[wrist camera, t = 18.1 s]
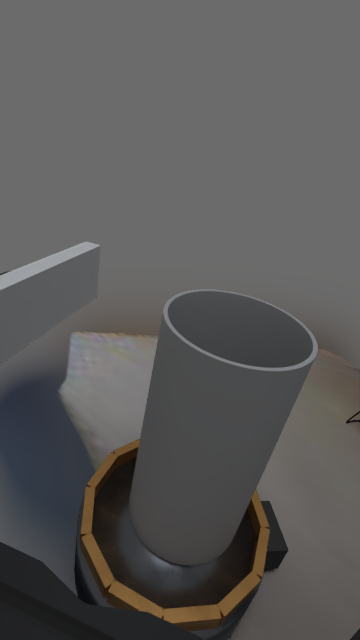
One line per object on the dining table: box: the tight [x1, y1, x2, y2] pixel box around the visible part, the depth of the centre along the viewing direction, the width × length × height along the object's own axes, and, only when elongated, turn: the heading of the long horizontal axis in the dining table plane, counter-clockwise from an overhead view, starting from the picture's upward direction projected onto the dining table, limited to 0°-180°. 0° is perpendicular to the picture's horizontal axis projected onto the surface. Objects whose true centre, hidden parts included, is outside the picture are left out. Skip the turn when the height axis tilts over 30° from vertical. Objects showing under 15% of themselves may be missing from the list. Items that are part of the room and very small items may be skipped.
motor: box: [74, 439, 288, 640], centre depth 40 cm, size 24×21×9 cm
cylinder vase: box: [129, 289, 318, 566], centre depth 33 cm, size 12×12×25 cm
